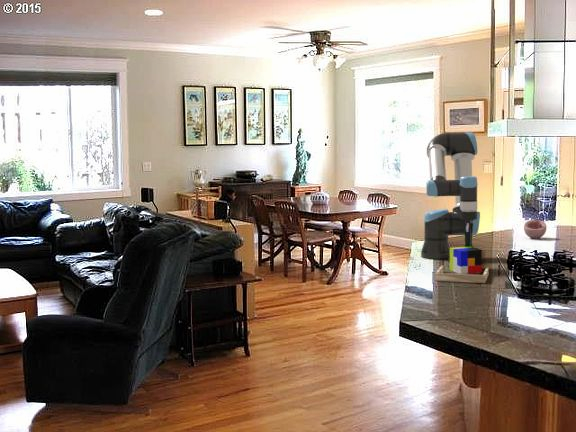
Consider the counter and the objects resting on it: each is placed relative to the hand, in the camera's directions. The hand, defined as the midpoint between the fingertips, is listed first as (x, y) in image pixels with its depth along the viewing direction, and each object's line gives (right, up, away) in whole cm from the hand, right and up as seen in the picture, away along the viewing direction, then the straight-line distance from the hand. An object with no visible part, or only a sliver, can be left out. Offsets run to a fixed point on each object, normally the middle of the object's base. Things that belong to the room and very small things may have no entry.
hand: (468, 262), depth 300 cm
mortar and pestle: (+59, +8, +76) cm, 97 cm away
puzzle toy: (-4, -4, -9) cm, 11 cm away
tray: (-8, -5, -21) cm, 23 cm away
